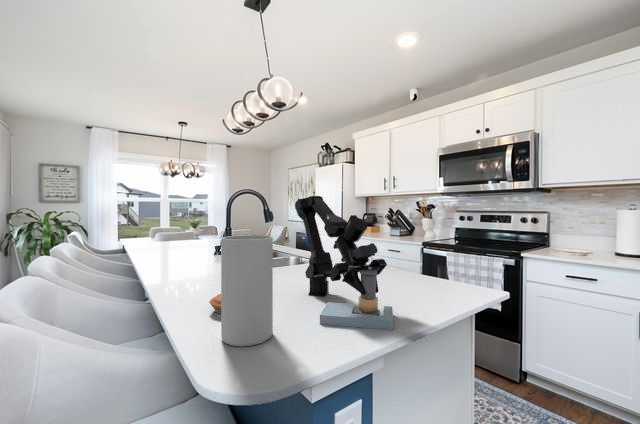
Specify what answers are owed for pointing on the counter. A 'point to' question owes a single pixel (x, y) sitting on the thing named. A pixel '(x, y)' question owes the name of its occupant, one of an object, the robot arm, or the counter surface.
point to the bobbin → (368, 293)
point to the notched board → (355, 317)
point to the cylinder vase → (246, 289)
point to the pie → (216, 303)
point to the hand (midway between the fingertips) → (371, 293)
